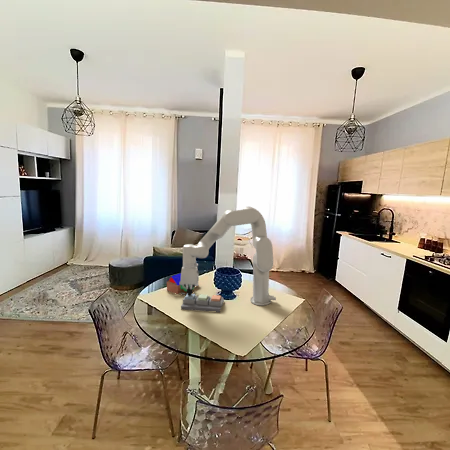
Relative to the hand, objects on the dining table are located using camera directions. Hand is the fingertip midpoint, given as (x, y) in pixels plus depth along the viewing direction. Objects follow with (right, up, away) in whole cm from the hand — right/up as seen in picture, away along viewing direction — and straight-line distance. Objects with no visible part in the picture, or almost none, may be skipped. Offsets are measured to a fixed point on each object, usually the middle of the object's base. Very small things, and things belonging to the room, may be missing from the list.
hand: (189, 294), depth 153 cm
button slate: (0, -3, 0) cm, 3 cm away
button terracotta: (+16, -3, -2) cm, 17 cm away
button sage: (+8, -3, -1) cm, 9 cm away
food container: (-2, -4, +16) cm, 17 cm away
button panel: (+8, -6, 0) cm, 10 cm away
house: (-8, -3, +26) cm, 28 cm away
